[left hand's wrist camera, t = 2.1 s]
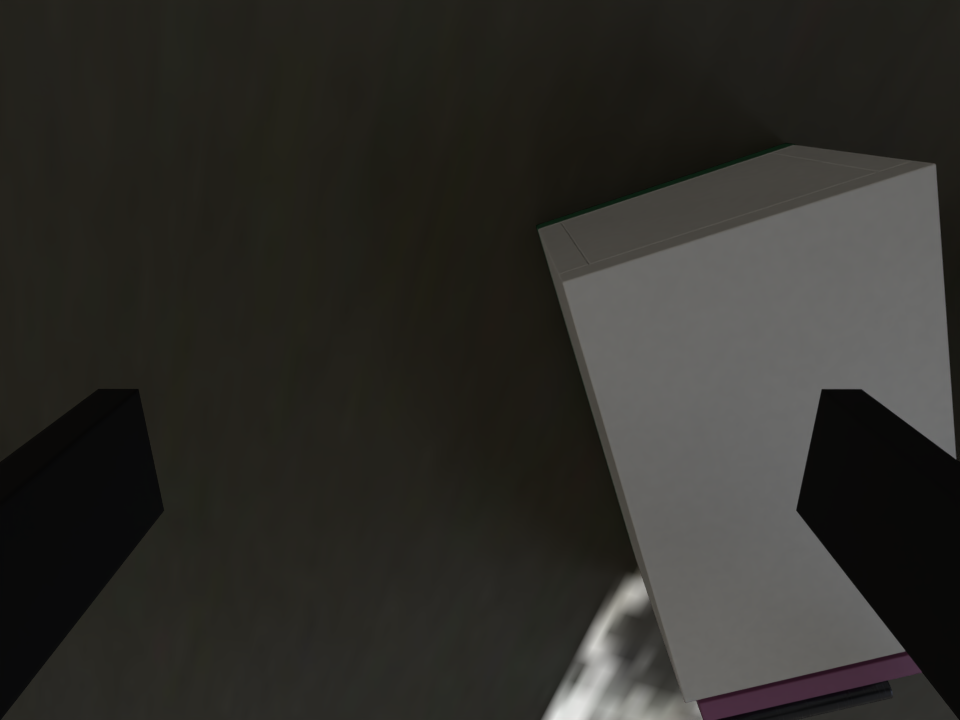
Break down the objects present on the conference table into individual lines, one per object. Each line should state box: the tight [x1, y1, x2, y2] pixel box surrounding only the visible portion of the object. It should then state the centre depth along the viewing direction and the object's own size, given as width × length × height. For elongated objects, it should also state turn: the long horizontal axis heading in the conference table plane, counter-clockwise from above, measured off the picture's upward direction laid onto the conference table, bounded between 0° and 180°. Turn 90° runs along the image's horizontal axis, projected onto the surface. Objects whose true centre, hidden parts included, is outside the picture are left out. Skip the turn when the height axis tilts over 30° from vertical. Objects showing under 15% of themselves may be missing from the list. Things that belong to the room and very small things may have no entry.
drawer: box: [696, 651, 922, 720], centre depth 30 cm, size 23×10×8 cm, turn 18°
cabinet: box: [536, 143, 956, 703], centre depth 27 cm, size 19×11×10 cm, turn 18°
